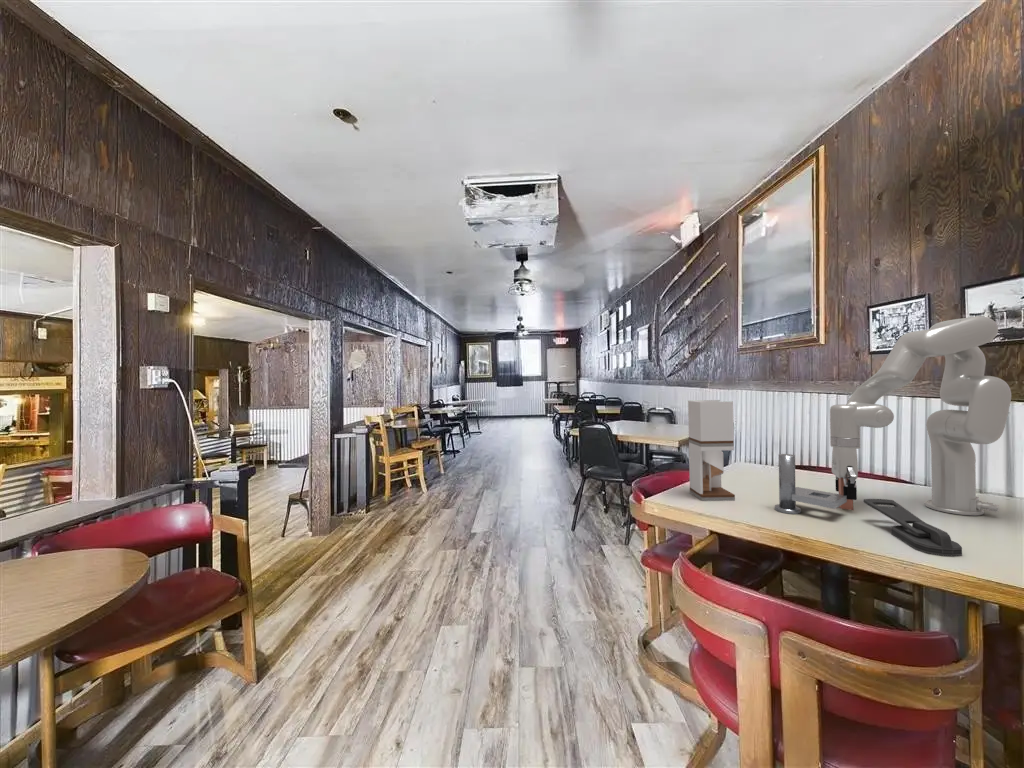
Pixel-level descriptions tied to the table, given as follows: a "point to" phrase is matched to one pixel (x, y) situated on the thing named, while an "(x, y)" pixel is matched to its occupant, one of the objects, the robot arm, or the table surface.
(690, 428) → the white tower model
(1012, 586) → the table surface
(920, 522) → the zipper pull
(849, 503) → the reddish brown rectangular block
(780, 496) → the rosette post
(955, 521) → the table surface
